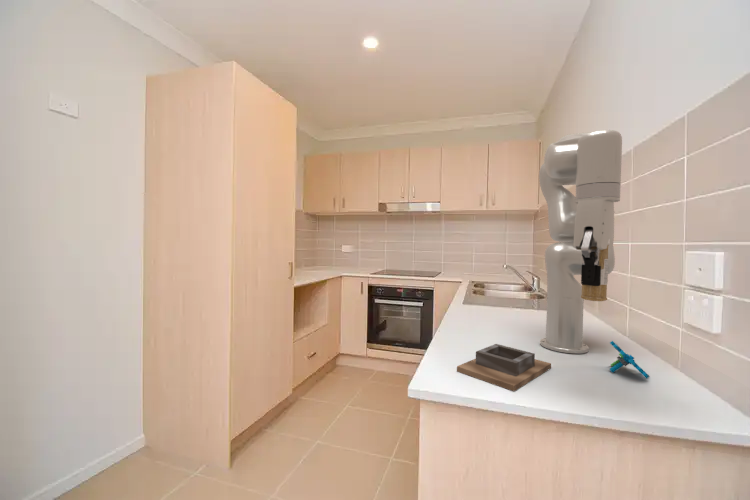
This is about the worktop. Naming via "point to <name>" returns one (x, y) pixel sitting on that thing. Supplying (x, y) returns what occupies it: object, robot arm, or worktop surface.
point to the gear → (625, 361)
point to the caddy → (504, 366)
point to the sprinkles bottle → (600, 291)
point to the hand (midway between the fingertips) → (594, 283)
